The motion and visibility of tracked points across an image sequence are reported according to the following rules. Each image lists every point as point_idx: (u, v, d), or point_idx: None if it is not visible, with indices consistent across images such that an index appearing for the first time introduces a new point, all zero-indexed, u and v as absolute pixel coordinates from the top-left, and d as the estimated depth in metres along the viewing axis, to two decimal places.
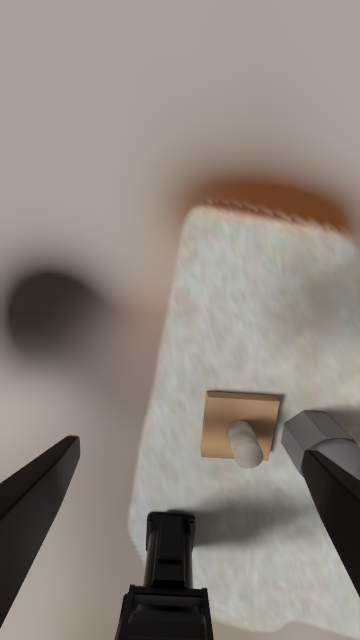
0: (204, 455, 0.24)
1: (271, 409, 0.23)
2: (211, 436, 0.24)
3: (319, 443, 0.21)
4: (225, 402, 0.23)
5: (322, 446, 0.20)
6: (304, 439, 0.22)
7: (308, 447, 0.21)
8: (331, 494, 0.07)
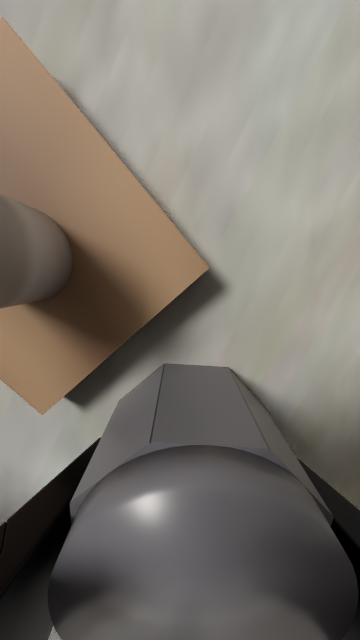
0: None
1: (167, 272, 0.06)
2: None
3: (227, 453, 0.04)
4: (51, 106, 0.05)
5: (235, 469, 0.04)
6: (183, 413, 0.06)
7: (177, 440, 0.05)
8: None
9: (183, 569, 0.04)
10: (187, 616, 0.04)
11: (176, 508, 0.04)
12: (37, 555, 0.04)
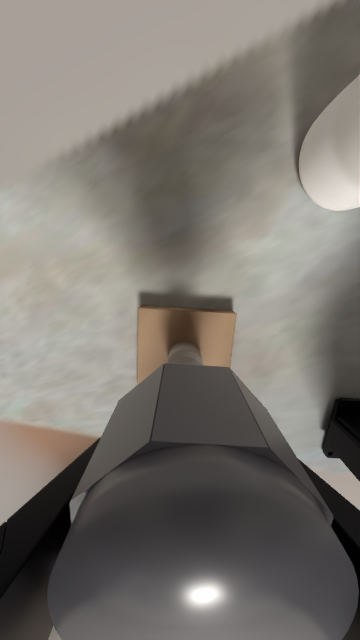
0: None
1: (151, 317, 0.17)
2: None
3: (227, 452, 0.04)
4: (143, 375, 0.18)
5: (235, 468, 0.04)
6: (183, 412, 0.06)
7: (177, 439, 0.05)
8: None
9: (183, 568, 0.04)
10: (187, 615, 0.04)
11: (176, 507, 0.04)
12: (37, 555, 0.04)
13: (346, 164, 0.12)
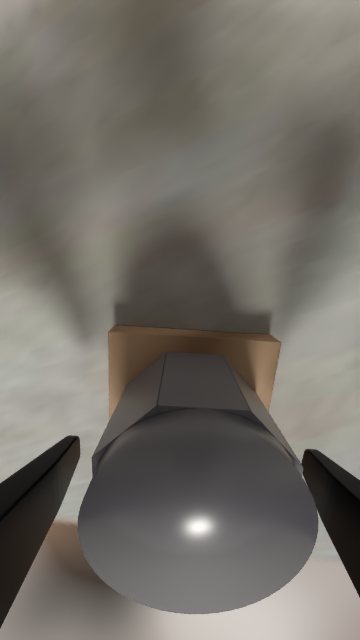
0: None
1: (131, 348, 0.10)
2: None
3: (217, 413, 0.06)
4: None
5: (222, 423, 0.05)
6: (183, 387, 0.07)
7: (178, 404, 0.06)
8: (331, 494, 0.07)
9: (183, 499, 0.05)
10: (186, 540, 0.06)
11: (177, 448, 0.05)
12: None
13: None
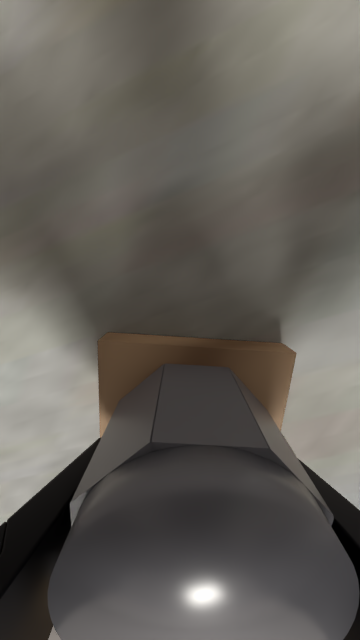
0: None
1: (124, 359, 0.08)
2: None
3: (227, 453, 0.04)
4: None
5: (235, 469, 0.04)
6: (183, 413, 0.06)
7: (177, 440, 0.05)
8: None
9: (184, 570, 0.04)
10: (188, 617, 0.04)
11: (176, 508, 0.04)
12: (37, 555, 0.04)
13: None
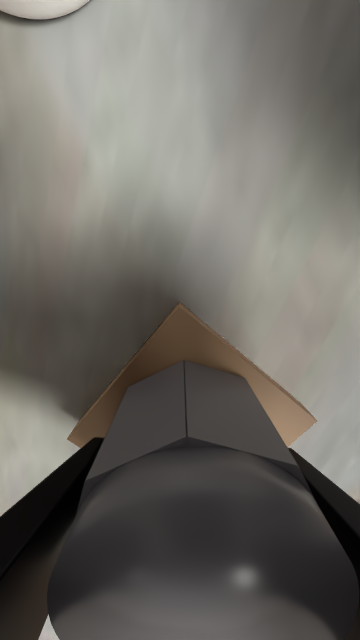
0: (308, 419, 0.09)
1: (93, 432, 0.09)
2: None
3: None
4: None
5: None
6: None
7: (305, 480, 0.05)
8: None
9: (248, 581, 0.04)
10: (189, 607, 0.04)
11: (318, 547, 0.04)
12: (26, 554, 0.04)
13: None
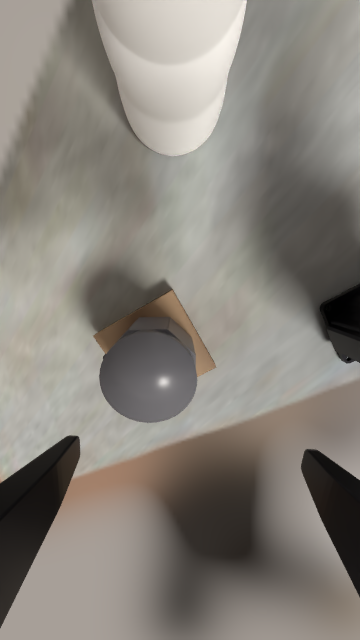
0: (212, 365, 0.19)
1: (108, 337, 0.18)
2: None
3: None
4: None
5: None
6: None
7: (195, 362, 0.14)
8: (331, 494, 0.07)
9: (167, 373, 0.13)
10: (145, 376, 0.13)
11: (190, 369, 0.13)
12: None
13: (151, 113, 0.12)
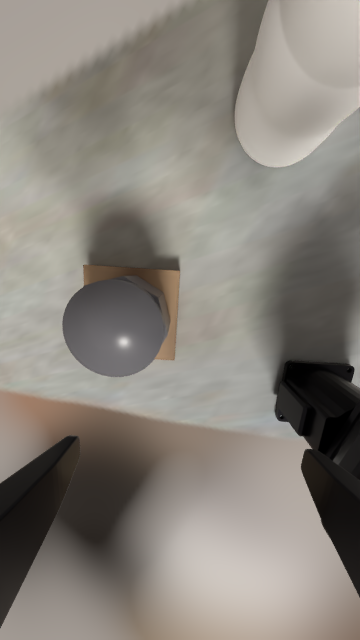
0: (172, 356, 0.19)
1: (96, 274, 0.17)
2: None
3: None
4: None
5: None
6: None
7: (163, 341, 0.14)
8: (331, 494, 0.07)
9: (133, 335, 0.13)
10: (113, 326, 0.13)
11: (156, 344, 0.13)
12: None
13: (262, 107, 0.12)
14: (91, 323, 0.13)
